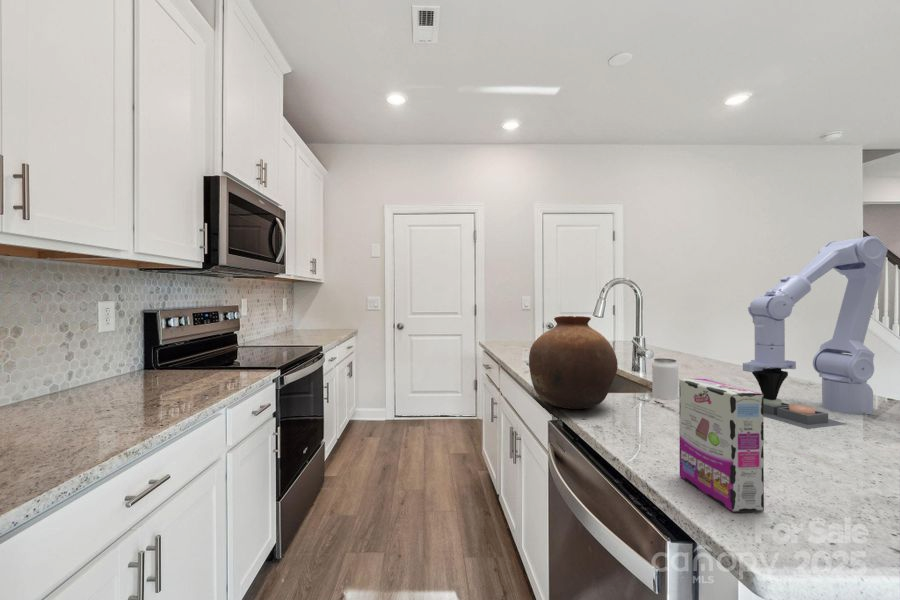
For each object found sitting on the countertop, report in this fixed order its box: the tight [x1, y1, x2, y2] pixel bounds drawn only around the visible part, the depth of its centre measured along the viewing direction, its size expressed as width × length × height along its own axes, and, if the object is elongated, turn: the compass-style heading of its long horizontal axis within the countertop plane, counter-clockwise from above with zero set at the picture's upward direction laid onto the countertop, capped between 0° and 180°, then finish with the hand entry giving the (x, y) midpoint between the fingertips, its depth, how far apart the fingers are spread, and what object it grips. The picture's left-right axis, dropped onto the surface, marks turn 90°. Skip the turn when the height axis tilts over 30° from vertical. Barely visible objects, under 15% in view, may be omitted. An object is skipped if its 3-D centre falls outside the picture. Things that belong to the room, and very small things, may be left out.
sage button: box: [763, 398, 783, 406], centre depth 94 cm, size 4×4×2 cm
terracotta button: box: [789, 403, 816, 415], centre depth 87 cm, size 4×4×2 cm
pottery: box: [528, 315, 619, 410], centre depth 104 cm, size 23×23×25 cm
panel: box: [763, 402, 847, 430], centre depth 94 cm, size 12×24×4 cm, turn 14°
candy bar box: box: [678, 378, 765, 513], centre depth 58 cm, size 11×5×16 cm, turn 5°
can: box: [651, 357, 680, 405], centre depth 108 cm, size 6×6×12 cm
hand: (769, 399), depth 94 cm, fingers closed, pressing on sage button
